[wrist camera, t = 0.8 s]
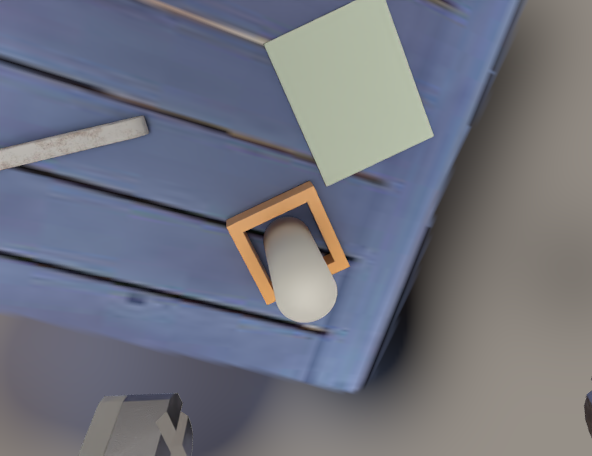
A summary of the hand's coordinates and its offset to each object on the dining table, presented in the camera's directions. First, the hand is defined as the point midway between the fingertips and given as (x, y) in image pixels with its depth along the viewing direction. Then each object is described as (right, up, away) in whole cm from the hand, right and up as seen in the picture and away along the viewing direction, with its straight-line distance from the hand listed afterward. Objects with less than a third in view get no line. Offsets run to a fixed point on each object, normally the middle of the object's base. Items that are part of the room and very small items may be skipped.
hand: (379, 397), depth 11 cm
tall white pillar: (-3, +2, +45) cm, 45 cm away
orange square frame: (-3, +2, +45) cm, 45 cm away
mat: (+4, +17, +41) cm, 45 cm away
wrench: (-30, +10, +39) cm, 51 cm away
